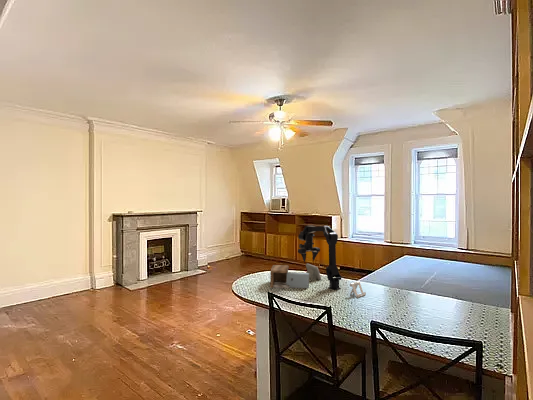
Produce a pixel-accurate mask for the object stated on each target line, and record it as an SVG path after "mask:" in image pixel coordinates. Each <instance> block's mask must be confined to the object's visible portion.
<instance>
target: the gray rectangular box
mask: <svg viewBox="0 0 533 400" xmlns="http://www.w3.org/2000/svg"><path fill="white" fill-rule="evenodd" d="M287 285H289V288H297V289H309V288H310V279H309V273H306V272H292V271H288V272H287Z"/></svg>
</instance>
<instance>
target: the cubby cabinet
mask: <svg viewBox="0 0 533 400" xmlns="http://www.w3.org/2000/svg"><path fill="white" fill-rule="evenodd" d="M289 267H290V266H289V265H287V264H284V265H282V264H281V265H280V264H272V266H271V268H270V281H269V282H270V286H269V287H270V289H271V288H272V289H273V288H279V289H280V288H281V289H282V288H283V289H290V287H289V285H287V272H289Z"/></svg>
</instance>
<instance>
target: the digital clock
mask: <svg viewBox="0 0 533 400" xmlns="http://www.w3.org/2000/svg"><path fill="white" fill-rule="evenodd" d="M305 267H306V270H307V271H306V272H305V273H309V280H311V281H313V280H314V281H315V280H318V281H321V280H322V277H321V273H320V270H319V268H318V266H315V265H313V264H310V263H305Z"/></svg>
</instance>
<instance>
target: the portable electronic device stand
mask: <svg viewBox="0 0 533 400" xmlns="http://www.w3.org/2000/svg"><path fill="white" fill-rule="evenodd" d="M349 286H350V287H351V291H350V293H349V295H352V294H354V295H355V297H356V298H360V297H363V296H364V297H365V296H366V294H367V292H366V291H365V292H364V290H363V288H362V285H361V281H359V280H358V281H354V282H351V283H349ZM358 287H359V290H360V293H358V292H357V291H358V290H357V288H358Z"/></svg>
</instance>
